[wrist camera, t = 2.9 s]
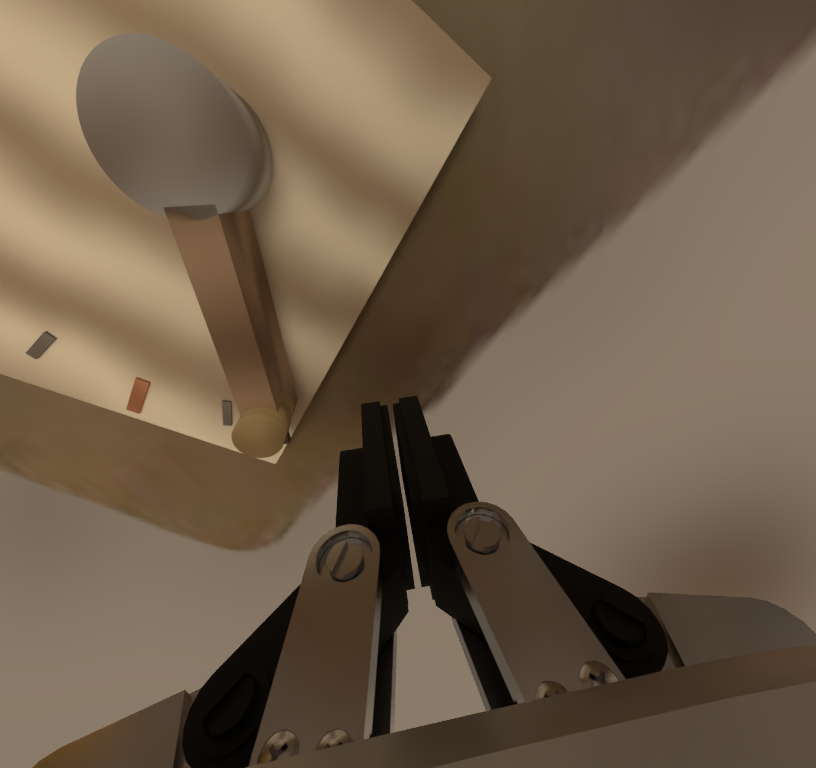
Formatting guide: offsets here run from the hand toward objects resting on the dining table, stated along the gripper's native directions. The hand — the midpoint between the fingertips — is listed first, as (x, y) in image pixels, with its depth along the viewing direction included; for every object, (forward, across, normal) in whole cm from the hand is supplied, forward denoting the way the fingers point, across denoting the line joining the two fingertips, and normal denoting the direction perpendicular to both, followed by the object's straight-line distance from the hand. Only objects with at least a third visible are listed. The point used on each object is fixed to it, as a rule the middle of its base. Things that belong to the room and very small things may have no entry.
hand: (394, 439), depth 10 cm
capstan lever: (+11, +6, -3) cm, 13 cm away
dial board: (+14, +8, -6) cm, 17 cm away
